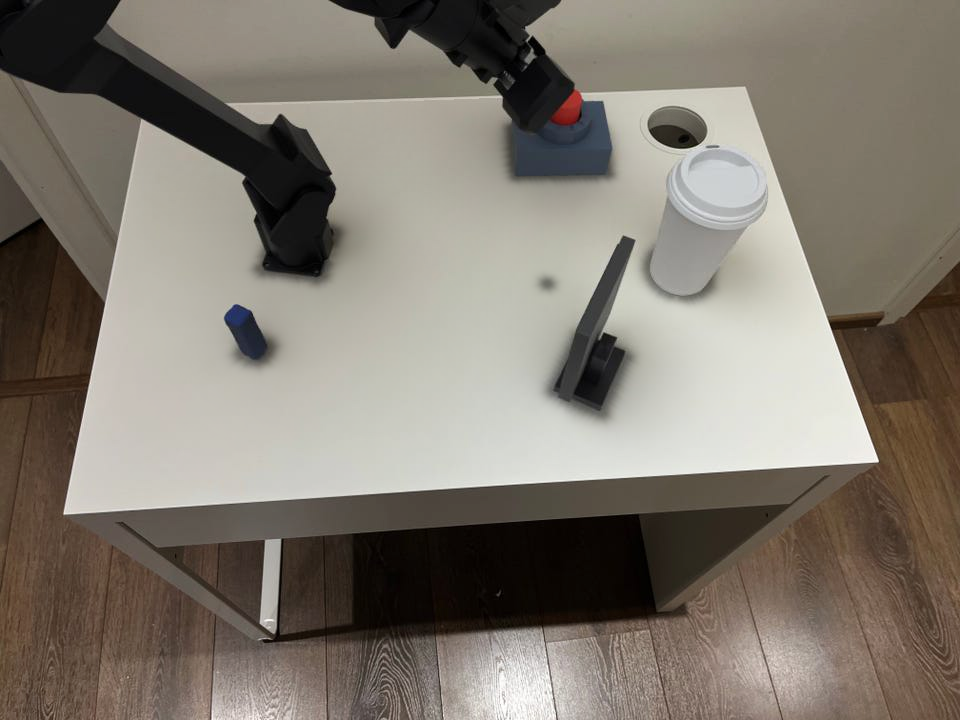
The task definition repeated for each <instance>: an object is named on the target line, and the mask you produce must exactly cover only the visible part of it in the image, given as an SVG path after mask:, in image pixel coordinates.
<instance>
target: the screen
mask: <svg viewBox="0 0 960 720" xmlns="http://www.w3.org/2000/svg"><path fill="white" fill-rule="evenodd" d="M635 244H636V239H635V238H632V237H629V236H626V235H624V234H623V235H622V236H621V238H620V240H619V242H618V243H617V244H616V246H615V248H614V250H613V252H612V253H611V256H610V258H609V260H608V262H607V264H606V267H605V269H604V270H603V273H602V275H601V277H600V279H599V281H598V283H597V285H596V287H595V290H594V291H593V293H592V295H591V298H590V300H589V302H588V304H587V306H586V308H585V309H584V312H583V315H582V316H581V318H580V320H579V322H578V324H577V327H576V329H575V332H574V335H573V339H572V342H571V345H570V350H569V352H568V353H569V354H568V356H567V359H568V360H567V359H566V361H567V363H566V362H565V363H566V367H565V371H564V374H563V378H562V381H561V385H560V391H559V393H558V394H557V398H558V399H561V400H562V401H564V402H565V401H566V402H567V403H570V402H571V400H572V399H571V398H572V396H573V393H574V391H575V389H576V387H577V385H578V383H579V380H580V378H581V376H582V374H583V372H584V370H585V367H586V365H587V363H588V361H589V359H590V357H591V354H592V352H593V350H594V348H595V346H596V344H597V341H598V340H600V338H601V336H602V334H603V331H604V328H605V326H606V324H607V322H608V320H609V318H610V316H611V313H612V310H613V308H614V307H613V306H614V304H615V302H616V298H617V296H618V292H619V289H620V287H621V284H622V281H623V278H624V276H625V273H626V269H627V267H628V264H629V261H630V258H631V255H632V252H633V250H634V248H635V247H634V246H635Z"/></svg>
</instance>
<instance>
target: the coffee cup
mask: <svg viewBox="0 0 960 720" xmlns="http://www.w3.org/2000/svg"><path fill="white" fill-rule="evenodd" d="M665 189H666V194H667V196H666V199H665V204H664V209H663V212H662V216H661V220H660V224H659V228H658V231H657V236H656V240H655V244H654V247H653V252H652V256H651V260H650V264H649V272H650V276H651V278H652V280H653V281H654V283H655V284H656V285H657V286H658V287H659V288H660V289H662V290H663V291H665V292H666V293H668V294H671V295H675V296H682V297H683V296H691V295H695V294H697V293H699V292H701V291H702V290H703V289H704V288H705V287H706V286H707V284H708V283H709V282H710V280H711V279H712V277H713V276H714V274H715V273H716V272H717V270H718V269H719V268H720V265H721V264H722V263H723V262H724V260H725V259H726V258H727V256H728V254H730V252H731V250H733V248H734V246H735V245H736V243H737V242H738V241H739V239H740V238H741V236H742V235H743V234H744V233H745V232H746V229H747V228H748V227H749V226H750V225H752V224H754V223H756V222H757V221H758V220H759V219H760V218H761V217H762V216H763V214H764V213H765V211H766V208H767V206H768V201H769V187H768V179H767V174H766V172H765V170H764V168H763V166H762V165H761V163H760V162H759V161H758V160H757V159H756V158H755V157H754V156H753V155H751V154H750V153H748V152H747V151H745V150H743V149H741V148H739V147H737V146H736V147H735V146H732V145H729V144H724V143H723V144H722V143H708V144H704V145H703V144H702V145H699V146H697V147H695V148H694V149H691V150H690V151H689V152H688V153H687V154H685V155H683V156H682V157H681V158H679V159H678V160H677V161H676V162H675V163H674V165H673V166H672V167H671V168H670V170H669V172H668V173H667V176H666V179H665Z"/></svg>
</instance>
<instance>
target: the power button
mask: <svg viewBox="0 0 960 720" xmlns="http://www.w3.org/2000/svg"><path fill="white" fill-rule="evenodd" d="M582 99H583V95H582V94H581V92H580V91H579V90H578V89H576V88H574V92H573V94H572V95H571V96H570V97H569V98H568V99H567V100H566V102H565V103H564V104H563V105H562V106H561V107H560V108H559V110H558V111H557V112H556V113H555V114H554V115H553V116H552V118H551V119H550V120H551V121H552V122H553V123H555V124H558V125H572V124H574V123H576V122H577V120H578V118H579V113H580V108H581V103H582Z"/></svg>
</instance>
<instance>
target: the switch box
mask: <svg viewBox="0 0 960 720" xmlns="http://www.w3.org/2000/svg"><path fill="white" fill-rule="evenodd" d="M510 136H511V146H512V157H513V158H512V159H513V167H514V176H515V177H537V176H538V177H543V176H544V177H545V176H549V177H550V176H596V175H597V176H598V175H599V176H600V175H607V171H608V169H609V164H610V160H611V157H612V153H613V143H612V139H611V134H610V129H609V123H608V118H607V112H606V108H605V103H604V100H585V99H583V98H582V103H581V108H580V113H579V118H578V120H577V122H576V123H574V124H572V125H558V124H555V123H553V122H552V121H551V120H549V121H548V122H547V123H546V125H545V126H544V127H543V128H542V129H541V130H540V131H539V133H538V134H536V135H529V134H527V133H525V132H524V131H522V130H520V129H519V128H518V127H517V125H516V124H515V123H514V122H513V120H512V119H511V118H510Z"/></svg>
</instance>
